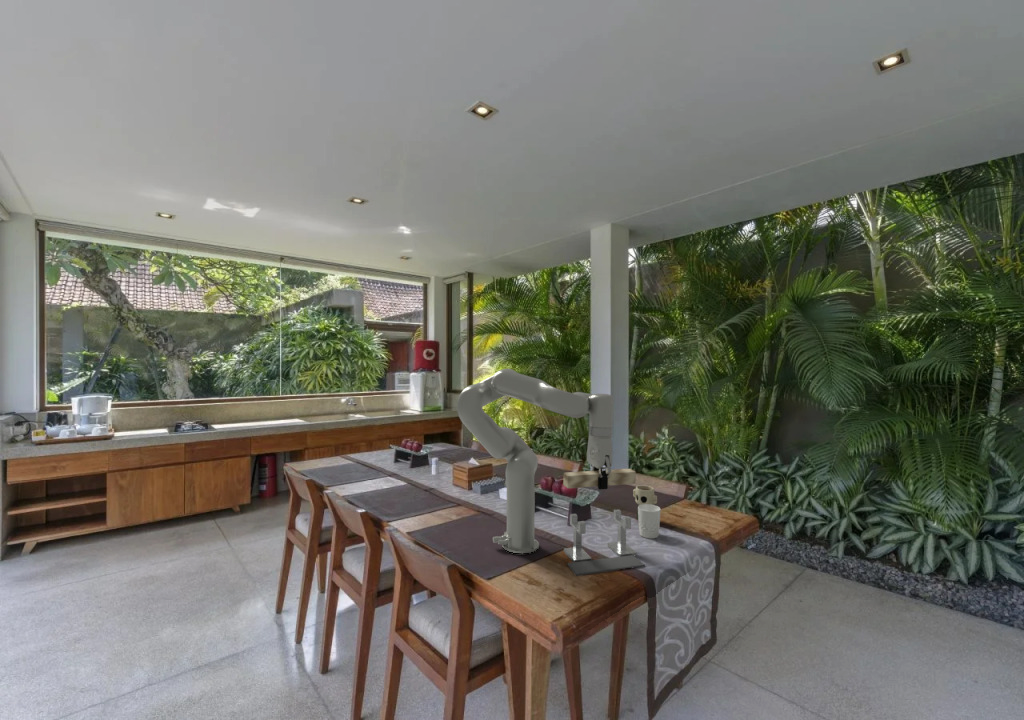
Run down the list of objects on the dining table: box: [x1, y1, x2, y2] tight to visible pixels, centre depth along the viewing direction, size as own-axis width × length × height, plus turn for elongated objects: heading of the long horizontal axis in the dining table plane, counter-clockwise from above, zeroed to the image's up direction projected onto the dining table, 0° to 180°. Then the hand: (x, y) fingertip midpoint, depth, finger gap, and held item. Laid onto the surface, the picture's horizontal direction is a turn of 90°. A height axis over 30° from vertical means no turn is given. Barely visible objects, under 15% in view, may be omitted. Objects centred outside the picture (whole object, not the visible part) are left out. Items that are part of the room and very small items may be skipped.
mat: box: [567, 555, 646, 576], centre depth 146 cm, size 23×7×1 cm, turn 105°
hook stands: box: [563, 509, 638, 563], centre depth 154 cm, size 22×9×12 cm, turn 105°
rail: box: [562, 468, 637, 489], centre depth 154 cm, size 24×4×4 cm, turn 105°
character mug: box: [632, 484, 658, 521], centre depth 184 cm, size 11×7×13 cm, turn 38°
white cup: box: [637, 504, 661, 539], centre depth 170 cm, size 8×8×10 cm
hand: (599, 486), depth 154 cm, fingers closed on rail, 4 cm apart
